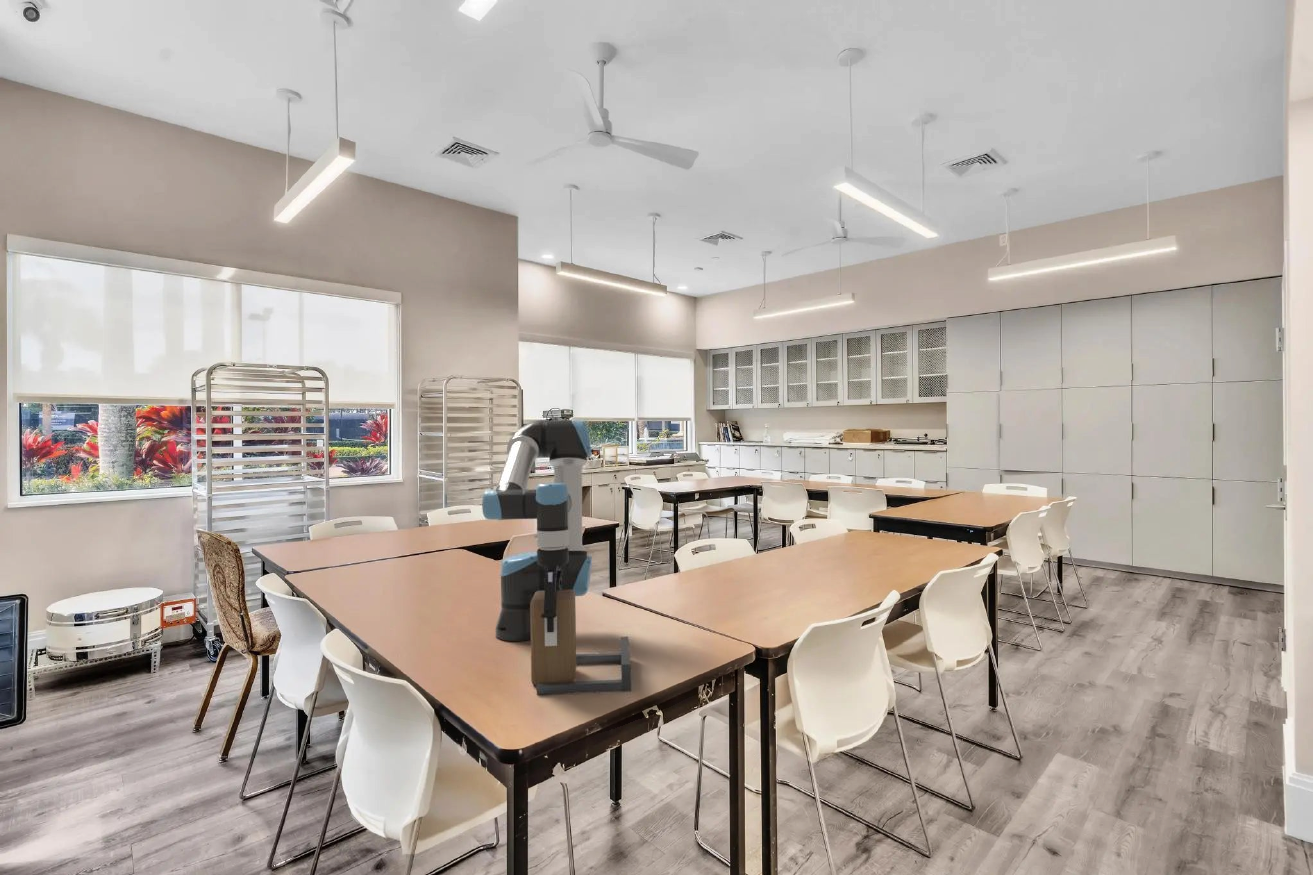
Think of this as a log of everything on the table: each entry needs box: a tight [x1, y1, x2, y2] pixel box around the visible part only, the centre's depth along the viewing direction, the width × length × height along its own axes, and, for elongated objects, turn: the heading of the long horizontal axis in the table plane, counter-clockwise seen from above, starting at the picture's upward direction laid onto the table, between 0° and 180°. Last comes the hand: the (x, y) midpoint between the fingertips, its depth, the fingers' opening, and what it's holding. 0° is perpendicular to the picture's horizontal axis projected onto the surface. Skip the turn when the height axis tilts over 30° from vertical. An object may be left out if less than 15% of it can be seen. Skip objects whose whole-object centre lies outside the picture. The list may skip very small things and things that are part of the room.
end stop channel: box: [536, 636, 632, 696], centre depth 146 cm, size 21×20×6 cm
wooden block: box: [530, 590, 577, 686], centre depth 145 cm, size 10×10×20 cm
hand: (553, 636), depth 145 cm, fingers open, 13 cm apart
